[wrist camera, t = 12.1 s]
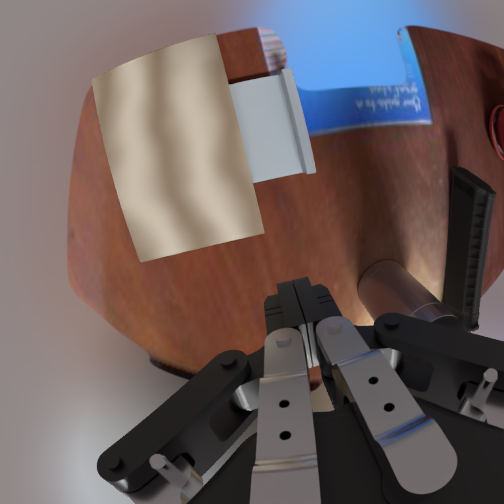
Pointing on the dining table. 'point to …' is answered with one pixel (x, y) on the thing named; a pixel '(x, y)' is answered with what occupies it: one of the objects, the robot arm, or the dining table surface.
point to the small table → (177, 150)
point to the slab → (273, 126)
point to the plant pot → (497, 130)
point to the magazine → (467, 245)
